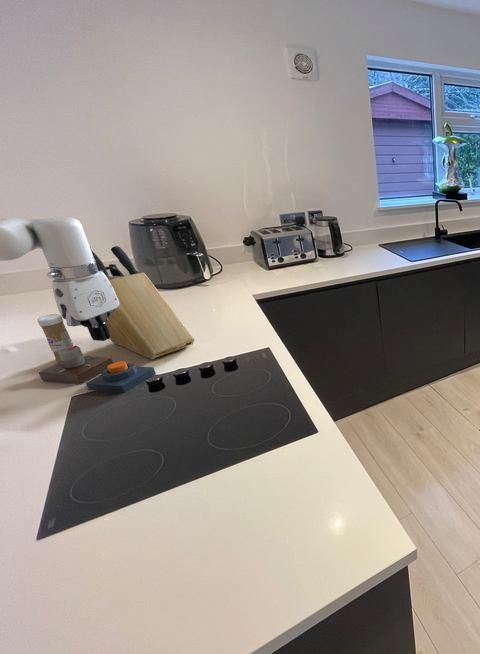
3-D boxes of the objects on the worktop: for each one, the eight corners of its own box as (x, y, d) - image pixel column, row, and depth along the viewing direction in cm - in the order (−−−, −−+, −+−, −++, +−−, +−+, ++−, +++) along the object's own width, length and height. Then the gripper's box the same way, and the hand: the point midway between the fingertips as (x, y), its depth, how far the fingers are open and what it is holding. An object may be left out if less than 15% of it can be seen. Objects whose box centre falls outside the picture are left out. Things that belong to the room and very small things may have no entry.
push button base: (88, 390, 103) (82, 377, 101) (122, 371, 111) (117, 359, 110) (124, 393, 102) (119, 379, 101) (156, 374, 111) (151, 361, 109)
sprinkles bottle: (51, 362, 114) (31, 320, 109) (65, 354, 118) (46, 313, 113) (70, 361, 115) (51, 319, 110) (83, 353, 119) (65, 313, 114)
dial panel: (42, 381, 106) (37, 371, 105) (79, 364, 114) (74, 354, 113) (80, 384, 105) (76, 374, 104) (114, 366, 113) (110, 357, 112)
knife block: (139, 323, 139) (107, 236, 127) (198, 347, 125) (168, 251, 113) (97, 336, 129) (58, 243, 117) (155, 363, 115) (118, 261, 103)
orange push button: (105, 373, 104) (103, 367, 103) (119, 366, 107) (117, 360, 107) (118, 374, 104) (116, 368, 103) (131, 367, 107) (129, 361, 106)
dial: (74, 368, 106) (67, 353, 105) (60, 367, 107) (53, 352, 105) (90, 361, 110) (83, 345, 108) (76, 360, 110) (69, 345, 109)
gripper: (54, 281, 87) (84, 354, 94) (121, 263, 101) (143, 327, 108) (22, 279, 88) (55, 352, 95) (93, 261, 102) (117, 325, 109)
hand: (102, 339), depth 101 cm, fingers closed
